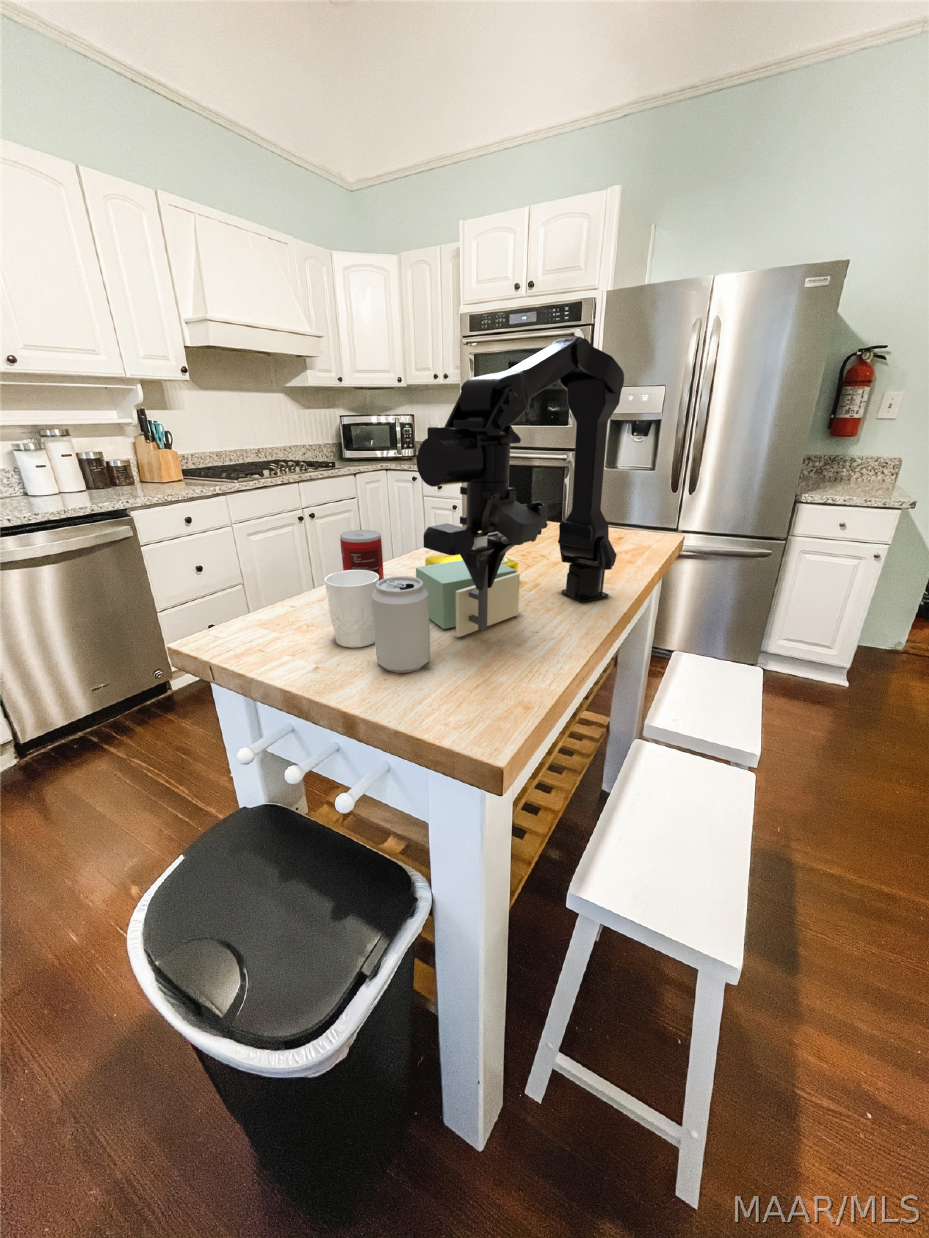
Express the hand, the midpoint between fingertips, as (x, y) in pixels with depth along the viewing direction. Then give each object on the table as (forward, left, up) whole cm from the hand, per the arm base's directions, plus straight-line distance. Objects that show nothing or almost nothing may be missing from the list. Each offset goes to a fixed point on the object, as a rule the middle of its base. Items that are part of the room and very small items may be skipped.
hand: (484, 588), depth 74 cm
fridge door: (-4, -3, -8) cm, 10 cm away
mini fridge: (-4, -11, -9) cm, 15 cm away
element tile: (-14, -26, -9) cm, 31 cm away
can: (+13, +1, -9) cm, 16 cm away
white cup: (+16, -10, -9) cm, 21 cm away
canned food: (+7, -32, -9) cm, 34 cm away
